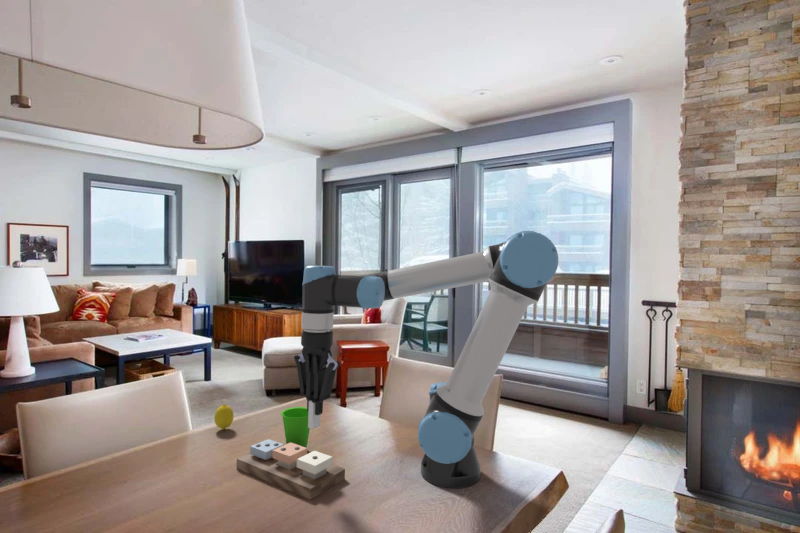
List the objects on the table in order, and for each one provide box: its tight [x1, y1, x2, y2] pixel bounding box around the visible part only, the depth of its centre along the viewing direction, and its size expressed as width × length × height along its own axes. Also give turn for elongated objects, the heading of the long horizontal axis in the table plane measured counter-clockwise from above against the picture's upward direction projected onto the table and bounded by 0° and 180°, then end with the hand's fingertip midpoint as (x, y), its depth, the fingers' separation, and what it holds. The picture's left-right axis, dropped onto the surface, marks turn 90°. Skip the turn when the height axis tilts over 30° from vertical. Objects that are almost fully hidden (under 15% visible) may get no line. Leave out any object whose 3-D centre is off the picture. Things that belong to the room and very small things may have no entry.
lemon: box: [214, 403, 234, 431], centre depth 142 cm, size 6×6×8 cm
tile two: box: [273, 442, 308, 470], centre depth 115 cm, size 6×6×5 cm
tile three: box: [249, 438, 285, 461], centre depth 119 cm, size 6×6×5 cm
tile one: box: [297, 450, 334, 480], centre depth 110 cm, size 6×6×5 cm
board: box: [236, 452, 346, 501], centre depth 115 cm, size 26×12×2 cm, turn 57°
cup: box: [280, 406, 311, 449], centre depth 128 cm, size 9×9×11 cm
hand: (314, 426), depth 110 cm, fingers closed
